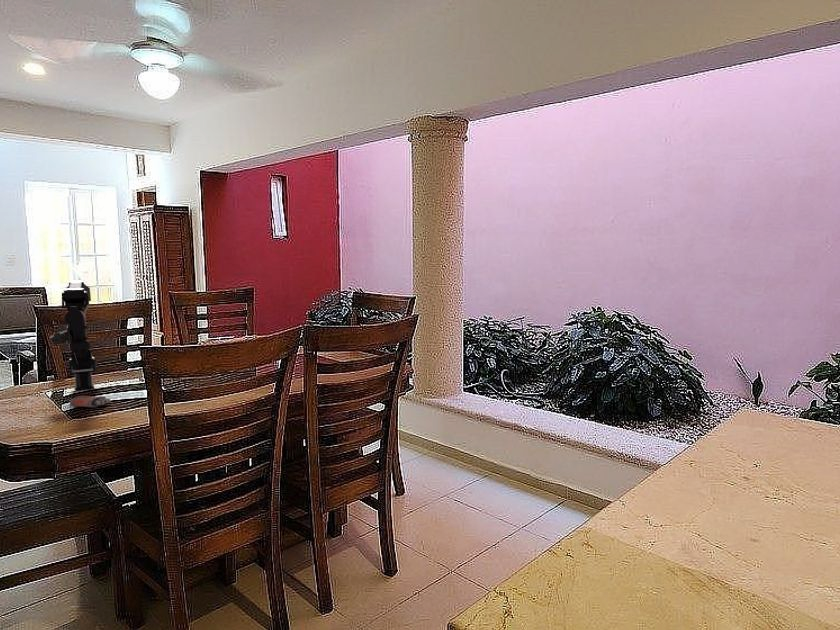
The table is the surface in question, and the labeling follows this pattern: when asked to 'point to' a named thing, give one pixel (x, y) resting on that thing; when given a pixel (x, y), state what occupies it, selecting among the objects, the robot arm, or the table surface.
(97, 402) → the lighter
